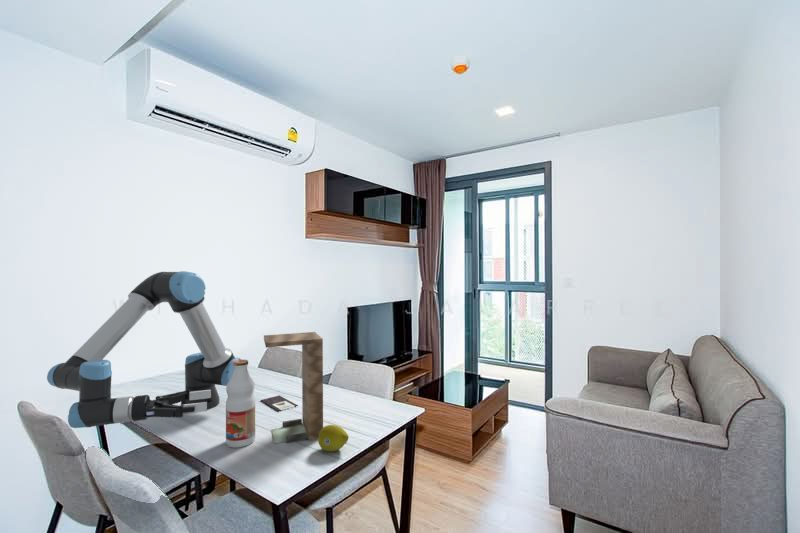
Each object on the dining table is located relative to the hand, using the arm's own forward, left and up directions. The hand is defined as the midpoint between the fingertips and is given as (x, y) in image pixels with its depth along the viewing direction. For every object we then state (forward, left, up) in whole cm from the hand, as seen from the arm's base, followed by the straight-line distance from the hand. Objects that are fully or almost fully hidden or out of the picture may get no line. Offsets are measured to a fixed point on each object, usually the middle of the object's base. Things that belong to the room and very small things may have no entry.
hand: (208, 399), depth 126 cm
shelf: (+25, +7, -16) cm, 31 cm away
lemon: (+41, -8, -16) cm, 45 cm away
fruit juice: (+9, +3, -16) cm, 19 cm away
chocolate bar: (+15, +39, -17) cm, 45 cm away
